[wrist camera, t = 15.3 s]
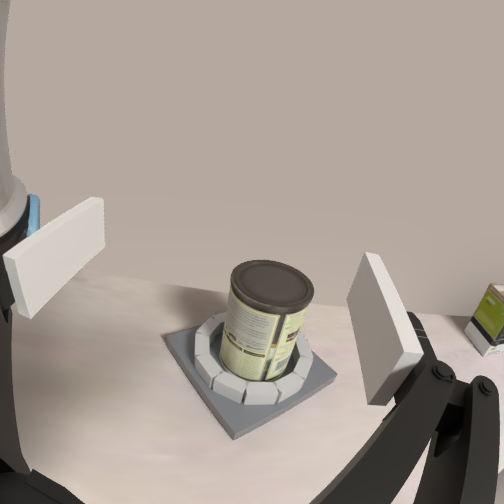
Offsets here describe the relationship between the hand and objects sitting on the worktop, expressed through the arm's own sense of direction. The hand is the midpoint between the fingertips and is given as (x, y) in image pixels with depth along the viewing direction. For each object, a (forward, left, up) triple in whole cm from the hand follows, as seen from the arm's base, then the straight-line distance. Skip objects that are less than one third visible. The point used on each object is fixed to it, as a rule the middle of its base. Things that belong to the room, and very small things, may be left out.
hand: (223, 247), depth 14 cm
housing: (-11, +16, -29) cm, 35 cm away
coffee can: (-11, +16, -27) cm, 34 cm away
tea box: (+18, +70, -30) cm, 78 cm away
